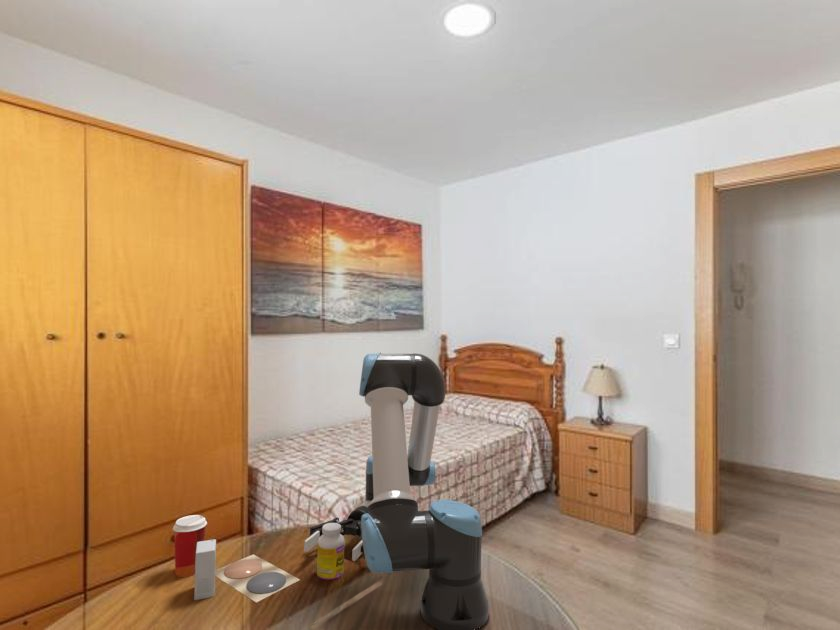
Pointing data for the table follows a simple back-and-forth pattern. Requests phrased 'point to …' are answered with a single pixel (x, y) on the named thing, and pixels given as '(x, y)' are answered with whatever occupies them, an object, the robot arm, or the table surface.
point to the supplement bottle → (330, 552)
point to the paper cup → (187, 543)
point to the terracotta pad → (243, 569)
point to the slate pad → (266, 582)
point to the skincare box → (205, 569)
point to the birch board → (242, 583)
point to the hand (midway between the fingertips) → (329, 551)
